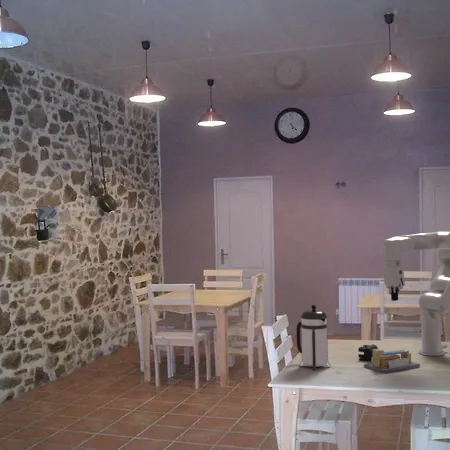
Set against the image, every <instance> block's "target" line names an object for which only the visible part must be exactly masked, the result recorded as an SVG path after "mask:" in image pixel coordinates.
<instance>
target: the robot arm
mask: <svg viewBox="0 0 450 450" xmlns="http://www.w3.org/2000/svg"><path fill="white" fill-rule="evenodd" d="M383 244H384V245H383V246H384V249H383V250H384V265H385V266H384V269H383V270H384V271H383V274H384V275H383V281H384V282H383V283H384V285H385V288H386V289H388V290H389V292H390V300H391V301H392V302H395V301H399V292H400V290H403V289H404V286H405V285H406V283H405V282H406V281H405V280H406V279H405V272H404V268H403V266H402V259H401V254H402V253H410V252H412V251H427V250H432V249H433V250H435V249H437V257H438V261H439V268H438V271H437V273H436V274H435V276H434V278H433V279H432V281H431V283H430V290H431V292H424V293H422V294H421V295H420V296H419V298H418V304H419V305H418V306H419V310H420V319H421V321H420V322H421V349H419V350H418V354H420V355H423V356H430V357H431V356H432V357H437V356H443V355H445V351H444V349H448V345H447V344H442V332H441V331H442V329H441V327H442V325H441V324H442V322H441V317H440V314H439V313H443V314H447V313H450V231H434V232H433V231H431V232H425V233H415V234H407V235H399V236H392V237H390V238H386V239H384V242H383Z"/></svg>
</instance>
